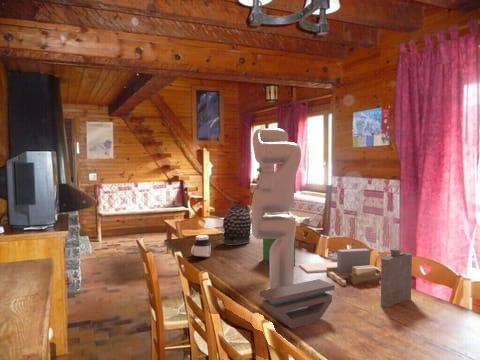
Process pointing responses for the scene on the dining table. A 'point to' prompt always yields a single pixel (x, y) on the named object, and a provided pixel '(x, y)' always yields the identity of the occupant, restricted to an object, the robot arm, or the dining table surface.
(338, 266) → the grey rectangular block
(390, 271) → the hip flask
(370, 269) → the pine offcut
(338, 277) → the rack
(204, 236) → the spread jar
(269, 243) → the hardback book
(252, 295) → the dining table surface
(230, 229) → the bumpy dark dome
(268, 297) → the sharpening stone
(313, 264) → the felt mat
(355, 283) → the walnut offcut
